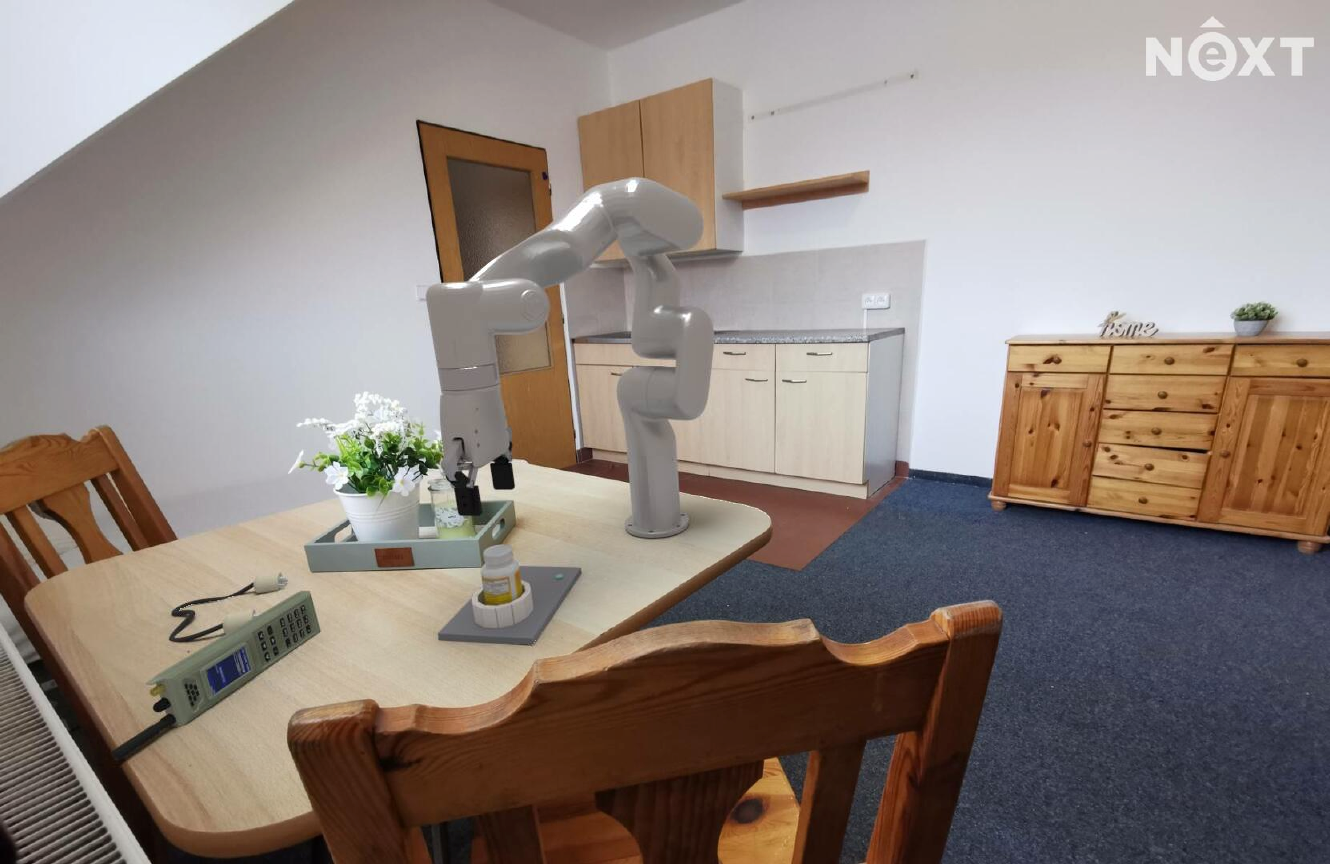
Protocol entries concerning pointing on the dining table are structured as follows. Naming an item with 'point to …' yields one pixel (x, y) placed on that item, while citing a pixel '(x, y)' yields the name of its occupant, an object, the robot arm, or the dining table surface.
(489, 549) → the supplement bottle
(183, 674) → the handheld radio
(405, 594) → the dining table surface
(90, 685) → the dining table surface
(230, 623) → the cable
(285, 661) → the dining table surface
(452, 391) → the robot arm
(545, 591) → the charging dock
